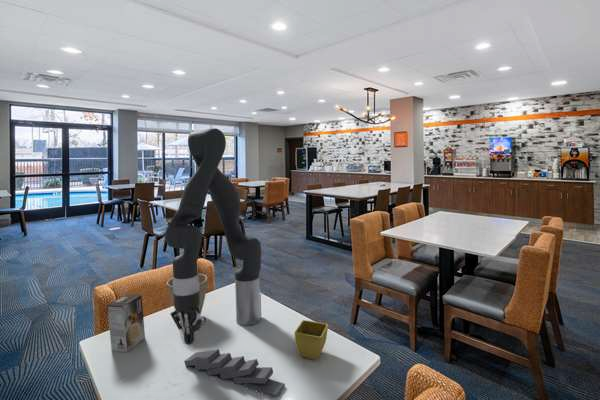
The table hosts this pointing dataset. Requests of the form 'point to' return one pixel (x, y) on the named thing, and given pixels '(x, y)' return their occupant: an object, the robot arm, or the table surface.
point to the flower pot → (311, 338)
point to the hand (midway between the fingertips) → (189, 343)
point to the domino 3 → (228, 366)
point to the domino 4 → (242, 370)
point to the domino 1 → (202, 357)
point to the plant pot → (201, 287)
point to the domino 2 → (215, 362)
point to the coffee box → (126, 322)
